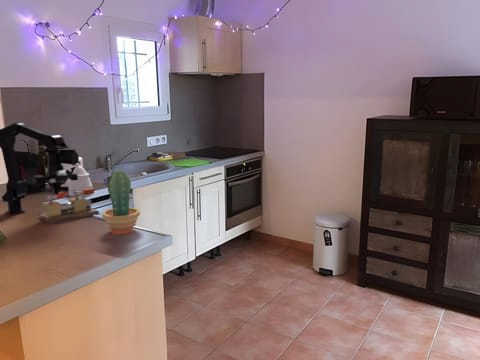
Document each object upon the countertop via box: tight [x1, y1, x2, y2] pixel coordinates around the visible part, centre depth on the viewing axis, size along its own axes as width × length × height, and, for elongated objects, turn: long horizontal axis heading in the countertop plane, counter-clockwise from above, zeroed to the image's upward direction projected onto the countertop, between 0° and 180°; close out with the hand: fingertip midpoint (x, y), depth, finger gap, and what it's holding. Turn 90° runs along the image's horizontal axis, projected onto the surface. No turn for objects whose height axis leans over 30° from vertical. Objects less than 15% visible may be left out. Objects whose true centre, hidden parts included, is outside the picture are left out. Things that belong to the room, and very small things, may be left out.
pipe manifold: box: [41, 187, 95, 219], centre depth 182 cm, size 6×23×10 cm, turn 138°
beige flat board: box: [38, 207, 100, 225], centre depth 182 cm, size 13×22×2 cm, turn 138°
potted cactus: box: [101, 169, 141, 235], centre depth 160 cm, size 15×15×25 cm
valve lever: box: [46, 191, 67, 202], centre depth 178 cm, size 9×3×2 cm, turn 161°
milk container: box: [59, 156, 84, 189], centre depth 243 cm, size 17×17×18 cm
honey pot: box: [68, 163, 94, 198], centre depth 225 cm, size 13×13×18 cm
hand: (55, 196), depth 181 cm, fingers closed
